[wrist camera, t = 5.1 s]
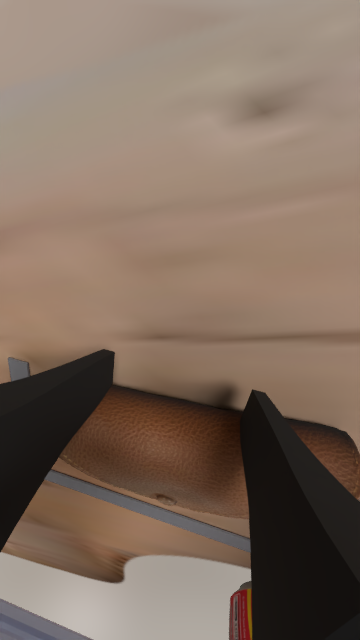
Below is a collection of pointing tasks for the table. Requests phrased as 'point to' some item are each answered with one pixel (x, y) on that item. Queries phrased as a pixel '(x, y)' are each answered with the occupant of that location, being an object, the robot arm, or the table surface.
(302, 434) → the sunglasses case
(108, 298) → the table surface
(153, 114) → the table surface
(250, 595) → the soda can
